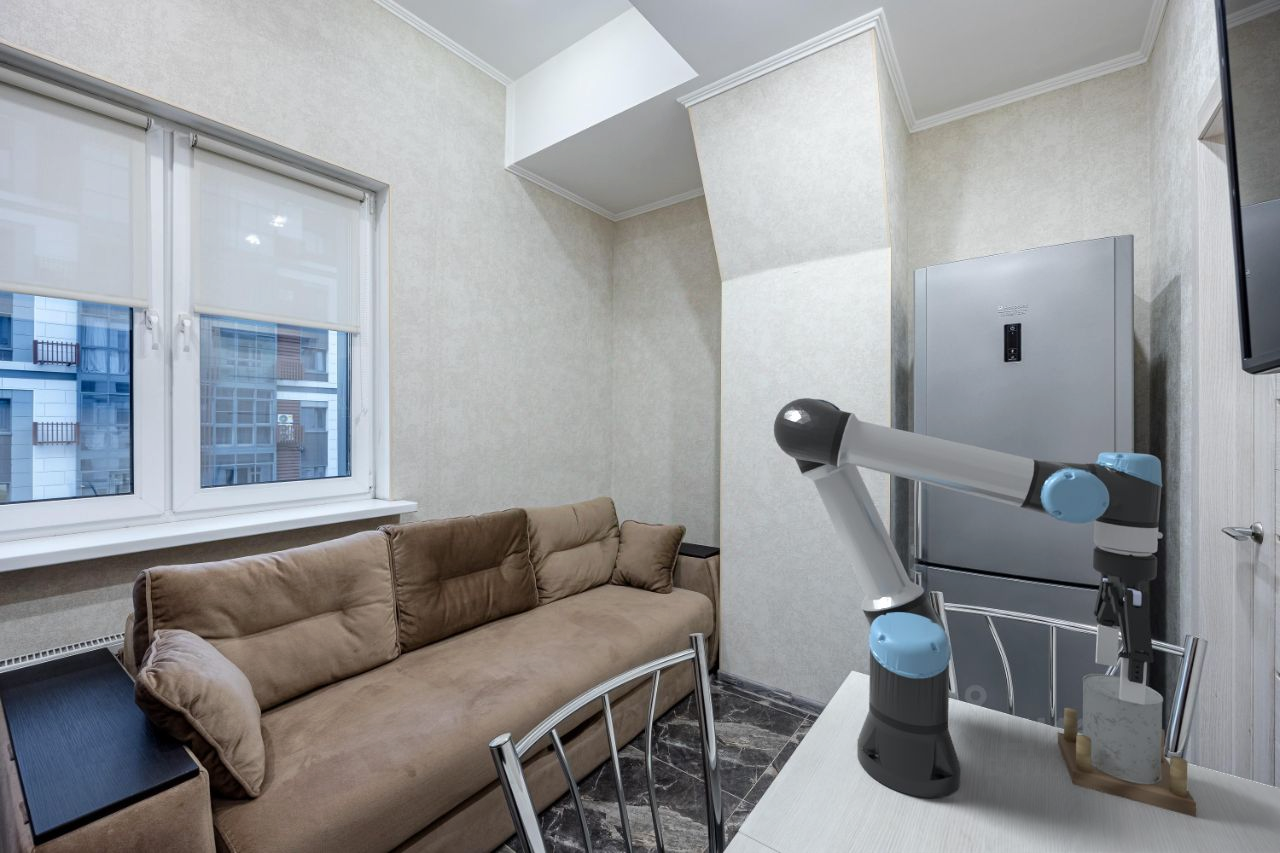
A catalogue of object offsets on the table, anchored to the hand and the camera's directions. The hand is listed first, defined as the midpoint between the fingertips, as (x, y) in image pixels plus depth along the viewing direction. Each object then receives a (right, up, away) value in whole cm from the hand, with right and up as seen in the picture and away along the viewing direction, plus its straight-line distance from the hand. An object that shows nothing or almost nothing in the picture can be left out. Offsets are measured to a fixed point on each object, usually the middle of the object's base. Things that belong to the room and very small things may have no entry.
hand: (1118, 681), depth 86 cm
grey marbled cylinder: (0, -13, 0) cm, 13 cm away
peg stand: (0, -15, 0) cm, 15 cm away
